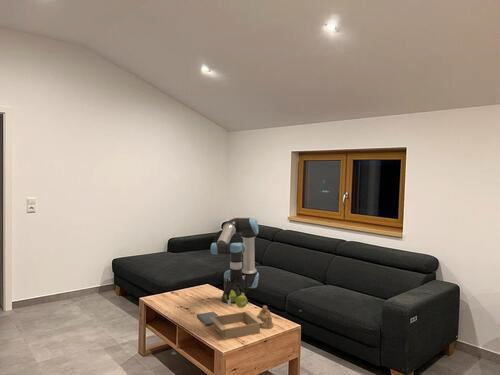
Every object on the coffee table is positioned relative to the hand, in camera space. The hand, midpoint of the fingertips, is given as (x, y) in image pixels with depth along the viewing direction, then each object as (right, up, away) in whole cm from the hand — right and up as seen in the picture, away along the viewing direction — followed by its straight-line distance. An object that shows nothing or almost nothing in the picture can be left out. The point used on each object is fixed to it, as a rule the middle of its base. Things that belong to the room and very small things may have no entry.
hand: (236, 303), depth 244 cm
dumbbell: (0, -1, 0) cm, 1 cm away
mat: (-18, -15, +16) cm, 29 cm away
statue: (+18, -16, +7) cm, 25 cm away
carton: (0, -16, 0) cm, 16 cm away
